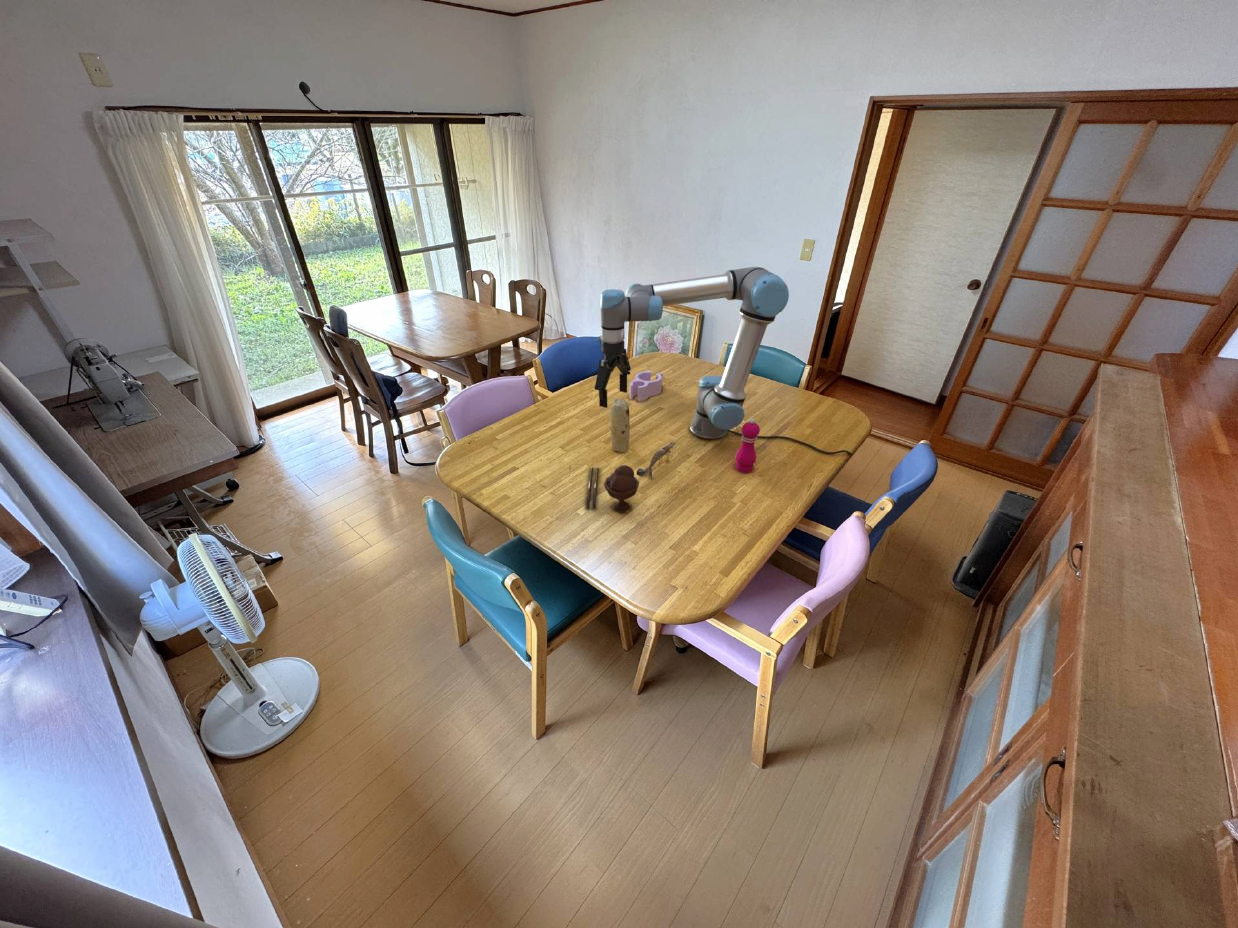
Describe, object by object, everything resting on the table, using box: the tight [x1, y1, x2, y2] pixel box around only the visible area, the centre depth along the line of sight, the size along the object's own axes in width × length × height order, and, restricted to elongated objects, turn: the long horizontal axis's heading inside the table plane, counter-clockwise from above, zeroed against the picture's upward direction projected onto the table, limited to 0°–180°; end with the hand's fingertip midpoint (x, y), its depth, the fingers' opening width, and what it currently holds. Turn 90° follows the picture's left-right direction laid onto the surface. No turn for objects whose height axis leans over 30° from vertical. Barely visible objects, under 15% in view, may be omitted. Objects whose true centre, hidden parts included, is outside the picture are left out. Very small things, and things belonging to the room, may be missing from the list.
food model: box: [610, 397, 631, 453], centre depth 180 cm, size 10×7×20 cm
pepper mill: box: [734, 418, 761, 474], centre depth 168 cm, size 7×7×20 cm
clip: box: [629, 369, 664, 402], centre depth 225 cm, size 20×12×7 cm, turn 148°
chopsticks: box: [585, 467, 599, 510], centre depth 164 cm, size 3×23×1 cm, turn 179°
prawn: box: [636, 440, 677, 478], centre depth 173 cm, size 25×12×7 cm, turn 144°
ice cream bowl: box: [603, 464, 640, 513], centre depth 151 cm, size 11×11×15 cm
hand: (613, 399), depth 169 cm, fingers open, 13 cm apart
